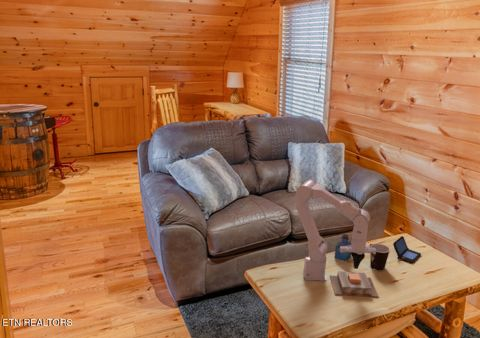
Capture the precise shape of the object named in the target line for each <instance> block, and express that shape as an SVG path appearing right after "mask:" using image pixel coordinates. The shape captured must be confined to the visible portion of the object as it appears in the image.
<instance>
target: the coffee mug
mask: <svg viewBox="0 0 480 338" xmlns="http://www.w3.org/2000/svg"><path fill="white" fill-rule="evenodd" d="M369 247H371V248H375V249H376V254H373V253H369V255H370V257H369V258H370V261H369V263H370V265H369V266H370V268H371V270H374V271H381V272H382V271H384V270H385V267H386V265H387V262H388V261H387V260H388V257H389V255H390V251H391V248H390V247H388V245H385V244H382V243H371V244H369Z"/></svg>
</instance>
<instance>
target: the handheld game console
mask: <svg viewBox="0 0 480 338" xmlns="http://www.w3.org/2000/svg"><path fill="white" fill-rule="evenodd" d="M392 245H393V248H394V250H395V253H396V256H397V260H401V261H403V262H405V263H409V264H414V263H415V262H416V261H417V260H418V259H419V258H420V257H421V256H422V254H421V252H418V251H415V250H412V249H410V248H409V247H408V245H407V242H406V239H405V237H404V236H403V235H401V236H400V237H399V238H398V239H396V240H395V241H394V242H393V243H392Z"/></svg>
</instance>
